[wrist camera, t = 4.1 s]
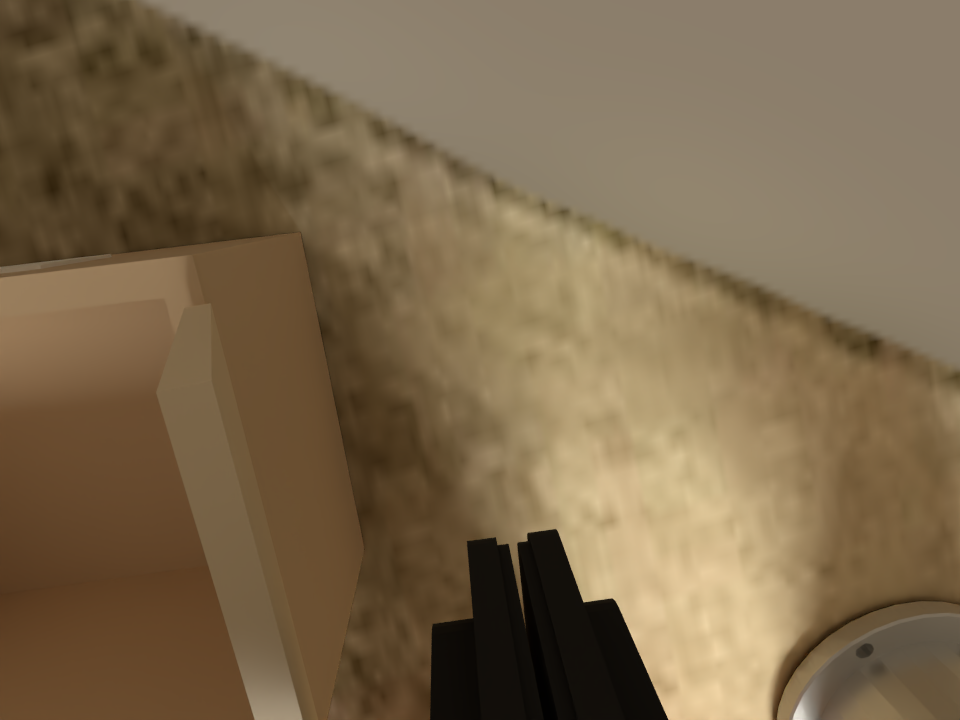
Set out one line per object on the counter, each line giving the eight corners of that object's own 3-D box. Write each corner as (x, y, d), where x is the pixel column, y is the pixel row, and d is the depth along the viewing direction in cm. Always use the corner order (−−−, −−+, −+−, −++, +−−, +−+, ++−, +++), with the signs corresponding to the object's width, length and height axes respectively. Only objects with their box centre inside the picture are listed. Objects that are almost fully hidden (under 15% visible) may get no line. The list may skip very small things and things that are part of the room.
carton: (299, 229, 20) (191, 250, 11) (364, 549, 24) (321, 747, 15) (-140, 281, 19) (-610, 345, 11) (0, 599, 23) (-261, 834, 15)
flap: (184, 307, 11) (211, 303, 11) (301, 736, 14) (320, 727, 15) (155, 392, 5) (210, 380, 6) (362, 1076, 9) (392, 1054, 9)
